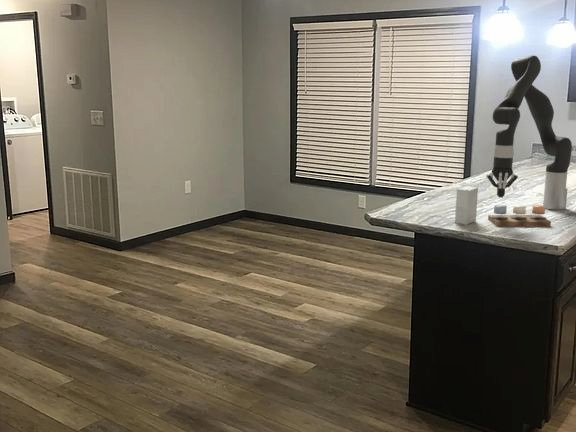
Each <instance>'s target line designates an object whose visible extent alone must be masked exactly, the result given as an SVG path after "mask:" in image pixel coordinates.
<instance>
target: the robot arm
mask: <svg viewBox="0 0 576 432" xmlns="http://www.w3.org/2000/svg"><path fill="white" fill-rule="evenodd" d="M510 65H511V66H510V69H511V73H512V76H513V78H514V80H515V83H513V84H512V85H511V86H510V88H508V90H507V92H506V95H505V97H504V99H503V100H502V101H501V102H500V103H498V105H497V106H496V107H495V109H494V110H493V112H492V120H493V122H494V123H495V124H496V125H504V126H505V125H506V126H507V125H508V127H507V129H502V130H498V131H496V133H495V134H496V135H495V146H494V149H493V150H494V153H493V164H492V166H493V167H492V170H491V172H490V173H489V174H486V178H487V180H488V181H489V182H490V183H491V186H493V187H495V188H496V196H497V197H498V198H503V197H504V196H505V193H506V189H507V188H510V187H511V186H512V184H513V183H515V181H516V180H517V179H518V178H519V177H518V176H519V175H516V174H515V173H514V170H513V163H514V160H513V159H514V140H515V133H516V129H517V126H518V123H519V121H520V118H521V111H520V108H521V104H522V102H523V101H524V99H525V102H526V104H527V107H528V110H529V112H530V115H531V117H532V118H533V121H534V123H535V126H536V128H537V129H536V130H537V132H538V134H539V138H540V140H541V145H542V148H543V150H544V152H545V154H547V156H551V157H554V161H553V162H552V163H549V164H547V165H546V167H545V178H544V179H545V180H544V190H543V192H544V193H543V202H542V205H543V206H545V210H546V209H547V210H557V211H558V210H559V211H561V210H566V209H567V201H568V200H567V199H568V188H567V183H568V182H567V179H568V169H569V167H570V165H571V160H572V159H571V157H572V151H573V143H572V140H571V139H570V138H568V137H566V136H558V135H556V134H555V131H554V130H553V126H552V125H553V124H552V123H553V120H554V114H555V112H554V108H553V105H552V103H551V100H550V98H549V96H547V95H546V93H544V92H542V90H540V89H539V88H537V87H536V86H534V85H533V84H534V81H536V79H537V78H538V76H539V74H540V72H541V71H542V68H541V67H542V65H541V61H540V59H539V57H538V56H537V55H527V56H523V57H520V58H516V59H514V60H512V62H511V64H510ZM494 178H495V179H496V182H495V179H494Z"/></svg>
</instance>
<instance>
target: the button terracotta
mask: <svg viewBox="0 0 576 432" xmlns="http://www.w3.org/2000/svg"><path fill="white" fill-rule="evenodd" d="M531 214H532V215H544V214H545V215H546V208H545V206H543V204H541V205H540V204H533V205H532V208H531Z"/></svg>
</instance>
